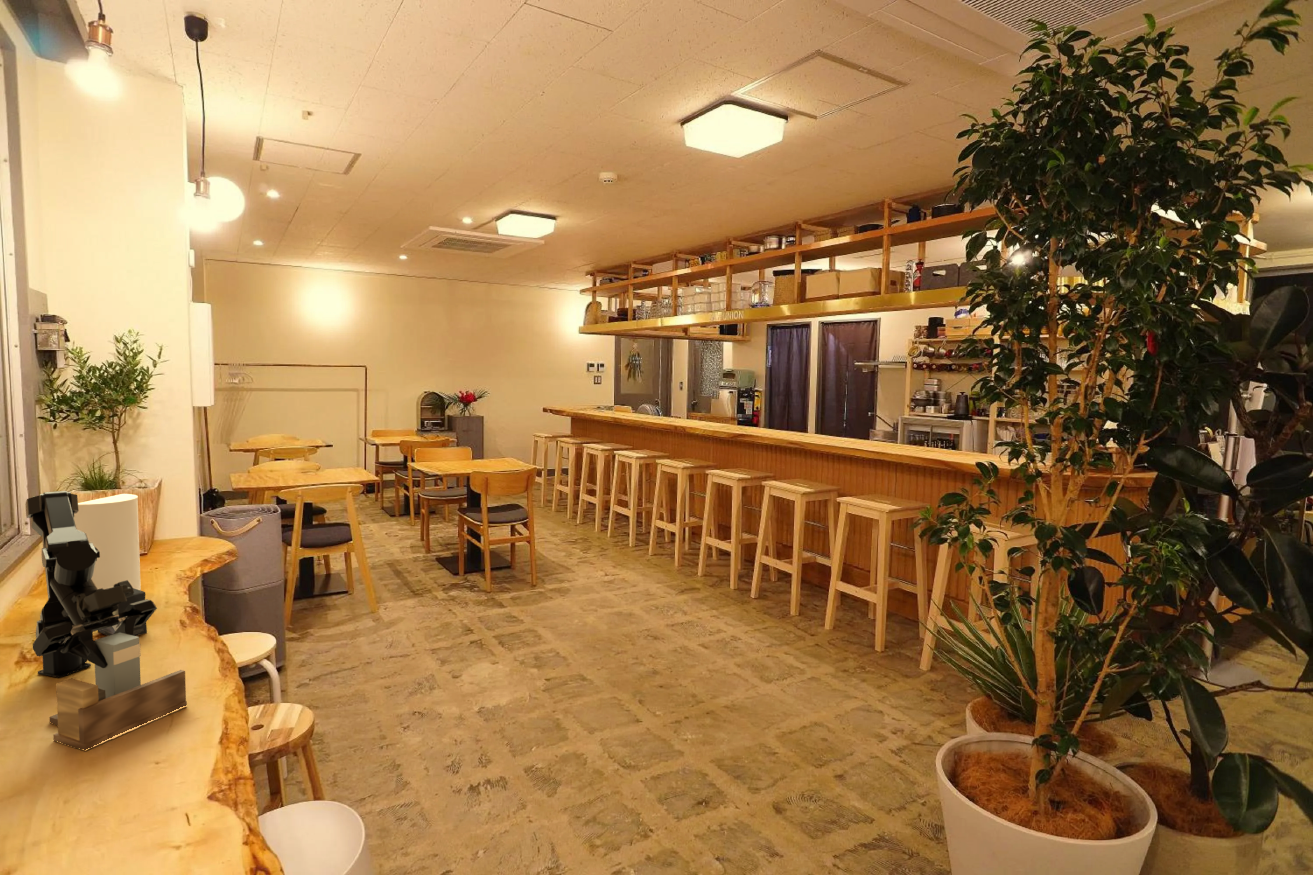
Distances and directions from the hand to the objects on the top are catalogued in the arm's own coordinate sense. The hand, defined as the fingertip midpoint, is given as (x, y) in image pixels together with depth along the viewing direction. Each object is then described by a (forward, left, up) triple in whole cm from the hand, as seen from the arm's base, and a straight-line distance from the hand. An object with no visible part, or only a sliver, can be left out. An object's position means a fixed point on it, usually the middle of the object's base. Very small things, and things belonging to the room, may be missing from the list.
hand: (119, 661), depth 131 cm
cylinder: (+48, +69, -10) cm, 84 cm away
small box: (+30, +39, -10) cm, 50 cm away
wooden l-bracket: (-3, -1, -10) cm, 10 cm away
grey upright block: (0, +1, -7) cm, 7 cm away
